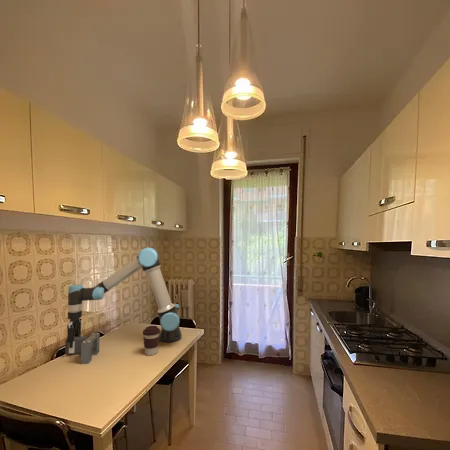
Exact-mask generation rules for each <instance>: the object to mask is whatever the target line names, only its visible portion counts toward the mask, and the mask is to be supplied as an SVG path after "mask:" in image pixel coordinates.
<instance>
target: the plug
mask: <svg viewBox="0 0 450 450" xmlns="http://www.w3.org/2000/svg"><path fill="white" fill-rule="evenodd" d="M87 338H88V336H87V335H86V336H81V337H75V336H74V341H75V346H74V353H69V342H67V339H65V340H64V341H65V343H64V344H65V347H64V348H65V349H64V355H65V354H79V353H81V343H82V342H83V341H85V340H86V339H87Z"/></svg>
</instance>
